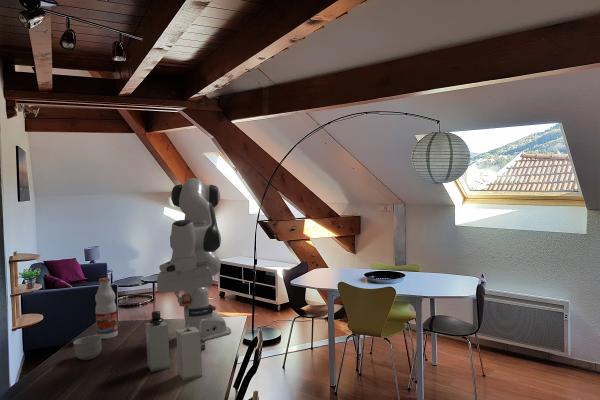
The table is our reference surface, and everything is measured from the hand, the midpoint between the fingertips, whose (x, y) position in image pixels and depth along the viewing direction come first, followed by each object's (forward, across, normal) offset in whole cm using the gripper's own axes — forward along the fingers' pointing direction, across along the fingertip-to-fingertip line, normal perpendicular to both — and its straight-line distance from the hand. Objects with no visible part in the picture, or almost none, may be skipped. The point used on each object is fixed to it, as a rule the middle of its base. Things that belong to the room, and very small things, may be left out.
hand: (186, 301), depth 181 cm
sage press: (+28, +8, -16) cm, 33 cm away
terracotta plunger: (+16, 0, 0) cm, 16 cm away
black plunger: (+24, +8, -16) cm, 30 cm away
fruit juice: (+28, +20, -72) cm, 80 cm away
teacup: (+28, +30, -46) cm, 62 cm away
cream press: (+28, 0, 0) cm, 28 cm away
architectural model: (+29, -11, -26) cm, 40 cm away
